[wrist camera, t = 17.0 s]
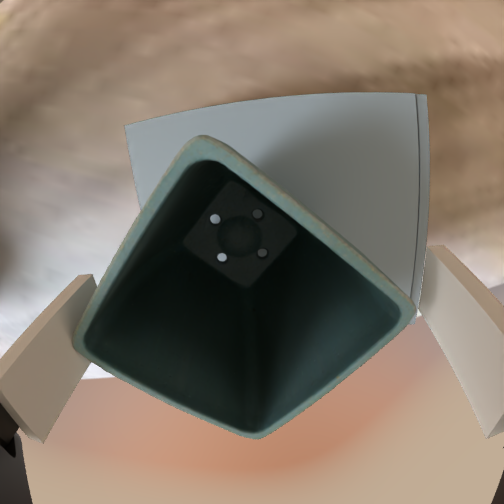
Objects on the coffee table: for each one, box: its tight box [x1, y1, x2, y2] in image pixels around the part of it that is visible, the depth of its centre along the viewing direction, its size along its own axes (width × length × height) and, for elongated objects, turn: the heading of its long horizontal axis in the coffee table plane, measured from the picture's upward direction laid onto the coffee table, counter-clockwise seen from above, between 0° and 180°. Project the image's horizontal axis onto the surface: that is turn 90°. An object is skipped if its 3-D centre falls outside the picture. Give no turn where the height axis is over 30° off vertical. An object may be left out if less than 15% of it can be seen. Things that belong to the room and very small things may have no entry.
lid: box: [125, 92, 430, 324], centre depth 19 cm, size 17×14×2 cm
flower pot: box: [72, 135, 416, 439], centre depth 14 cm, size 9×9×9 cm
